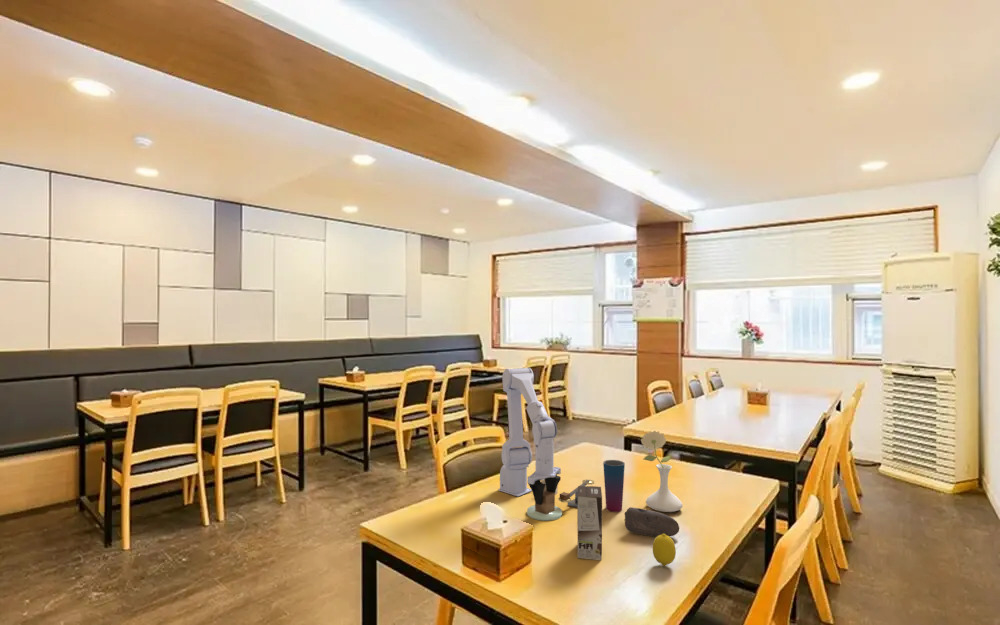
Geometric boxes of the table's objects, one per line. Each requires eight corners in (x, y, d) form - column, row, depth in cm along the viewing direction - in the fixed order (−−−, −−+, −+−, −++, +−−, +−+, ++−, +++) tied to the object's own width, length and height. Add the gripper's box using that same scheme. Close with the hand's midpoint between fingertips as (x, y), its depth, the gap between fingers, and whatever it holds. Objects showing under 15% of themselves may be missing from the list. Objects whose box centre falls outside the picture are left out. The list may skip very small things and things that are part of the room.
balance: (556, 510, 167) (556, 490, 167) (586, 496, 179) (586, 477, 179) (566, 513, 164) (566, 493, 164) (596, 499, 177) (596, 480, 177)
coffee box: (602, 560, 133) (602, 497, 133) (577, 558, 134) (576, 496, 134) (601, 545, 142) (601, 486, 142) (578, 543, 143) (577, 484, 143)
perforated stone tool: (679, 535, 148) (679, 510, 148) (679, 542, 143) (679, 517, 143) (626, 527, 153) (626, 504, 153) (623, 534, 148) (623, 510, 148)
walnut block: (535, 510, 163) (535, 493, 164) (543, 507, 167) (543, 490, 167) (546, 514, 161) (546, 496, 161) (554, 510, 164) (554, 493, 164)
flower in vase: (684, 505, 171) (684, 429, 171) (680, 517, 160) (680, 437, 160) (643, 499, 176) (643, 426, 176) (637, 511, 166) (637, 433, 166)
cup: (625, 513, 164) (625, 466, 164) (603, 512, 165) (603, 465, 165) (624, 505, 170) (624, 460, 170) (603, 504, 172) (603, 459, 172)
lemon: (649, 561, 132) (649, 529, 132) (670, 560, 133) (670, 529, 133) (657, 571, 127) (657, 539, 127) (679, 570, 127) (679, 538, 127)
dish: (520, 514, 164) (520, 510, 164) (541, 504, 172) (541, 501, 172) (547, 523, 156) (547, 520, 156) (569, 513, 164) (569, 510, 164)
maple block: (541, 495, 181) (541, 479, 181) (546, 491, 185) (546, 475, 185) (552, 497, 179) (552, 481, 179) (557, 493, 183) (557, 477, 183)
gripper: (540, 465, 156) (540, 511, 156) (568, 456, 166) (568, 498, 166) (522, 461, 161) (522, 505, 161) (550, 452, 171) (550, 493, 171)
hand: (544, 501), depth 164 cm, fingers open, 5 cm apart
